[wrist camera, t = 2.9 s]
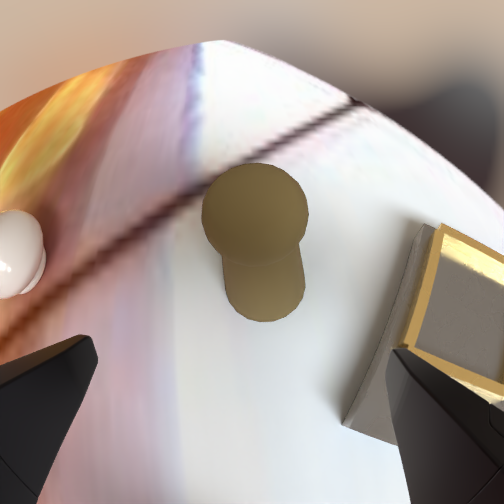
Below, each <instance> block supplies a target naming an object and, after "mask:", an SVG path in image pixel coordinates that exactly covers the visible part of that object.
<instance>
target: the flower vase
mask: <svg viewBox="0 0 504 504" xmlns="http://www.w3.org/2000/svg"><path fill="white" fill-rule="evenodd" d="M45 264H46V252H45V248H44V246H43V234H42V230H41V227H40V224H39V222H38V221H37V220H36V218H35V217H34V216H33V215H31V214H29V213H27V212H25V211H22V210H6V211H2V212H0V299H7V298H11V297H13V296H15V295H17V294H25V293H27V292H29V291H30V290H31V289H32V288H34V287H35V286H36V284H37V283H38V282H39V280H40V278H41V276H42V274H43V271H44V269H45Z"/></svg>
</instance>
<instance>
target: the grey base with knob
mask: <svg viewBox="0 0 504 504" xmlns="http://www.w3.org/2000/svg"><path fill="white" fill-rule="evenodd" d="M394 348H407V349H408V350H410V351H411V352H413V353H414V354H416V355H417V356H419V357H421V358H422V359H424V360H425V361H427V362H428V363H430V364H431V365H433V366H434V367H436V368H437V369H439V370H441V371H442V372H444V373H445V374H447V375H448V376H450V377H451V378H453V379H454V380H456V381H458V382H459V383H461V384H462V385H464V386H465V387H467V388H468V389H470V390H471V391H473V392H474V393H476V394H478V395H479V396H481V397H482V398H484V399H485V400H487V401H488V402H489V404H490V403H491V404H493V405H495V406H496V407H498V408H499V409H501V410H502V411H504V256H503V255H501V254H500V253H498V252H496V251H494V250H492V249H491V248H489V247H487V246H485V245H483V244H482V243H480V242H478V241H476V240H474V239H472V238H470V237H468V236H467V235H465V234H463V233H461V232H459V231H457V230H455V229H453V228H451V227H449V226H447V225H445V224H443V223H441V224H440V226H439V227H438V229H435V228H433V227H431V226H429V225H427V224H424V225H423V226H422V228H421V229H420V231H419V232H418V234H417V235H416V237H415V238H414V241H413V245H412V249H411V252H410V256H409V259H408V263H407V266H406V269H405V273H404V276H403V279H402V282H401V285H400V288H399V291H398V294H397V297H396V300H395V303H394V306H393V309H392V312H391V314H390V317H389V320H388V322H387V325H386V328H385V330H384V333H383V336H382V338H381V341H380V343H379V346H378V348H377V351H376V353H375V355H374V358H373V360H372V362H371V365H370V367H369V369H368V372H367V374H366V376H365V378H364V380H363V383H362V385H361V387H360V389H359V391H358V393H357V395H356V398H355V400H354V402H353V404H352V406H351V408H350V410H349V412H348V414H347V416H346V418H345V419H344V421H343V423H342V425H343V426H345V427H348V428H350V429H353V430H355V431H358V432H360V433H363V434H366V435H368V436H371V437H374V438H376V439H379V440H382V441H385V442H388V443H391V444H393V445H396V446H398V444H397V440H396V436H395V433H394V429H393V424H392V420H391V413H390V406H389V400H388V394H387V388H386V382H385V371H386V367H387V363H388V359H389V355H390V352H391V350H392V349H394Z"/></svg>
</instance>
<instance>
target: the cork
mask: <svg viewBox="0 0 504 504" xmlns="http://www.w3.org/2000/svg"><path fill="white" fill-rule="evenodd" d="M308 216H309V213H308V206H307V200H306V197H305V194H304V192H303V190H302V189H301V187H300V185H299V183H298V182H297V181H296V180H295V179H293V178H292V177H291V176H290V175H289V174H288V173H286V172H285V171H284V170H282V169H280V168H277V167H275V166H273V165H269V164H262V163H250V164H243V165H240V166H237V167H234V168H231V169H229V170H228V171H226V172H224V173H223V174H221V175H220V176H219V177H218V178H217V179H216V180H215V181H214V182H213V183H212V184H211V186H210V188H209V189H208V191H207V193H206V195H205V198H204V200H203V205H202V224H203V227H204V231H205V234H206V236H207V238H208V241H209V242H210V243H211V244H212V246H213V247H214V248H215V249H216V251H217V252H218V253H219V254H221V255H222V263H223V272H224V280H225V289H226V293H227V296H228V299H229V302H230V304H231V305H232V306H233V307H234V309H235V310H236V311H237V312H238V313H240V314H241V315H243V316H244V317H246V318H247V319H251V320H254V321H258V322H271V321H276V320H278V319H281V318H284V317H286V316H287V315H288V314H290V313H291V312H292V311H293V310H295V309H296V307H297V306H298V304H299V303H300V301H301V300H302V298H303V294H304V290H305V277H304V271H303V265H302V259H301V254H300V248H299V242H300V240H301V239H302V238H303V236H304V234H305V230H306V226H307V222H308Z"/></svg>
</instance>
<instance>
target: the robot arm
mask: <svg viewBox="0 0 504 504" xmlns="http://www.w3.org/2000/svg"><path fill="white" fill-rule="evenodd" d="M97 364H98V356H97V353H96V350H95V347H94V344H93V341H92V339H91V337H90V336H87V335H81V334H80V335H76V336H74V337H71V338H69V339H66V340H64V341H61V342H59V343H56V344H54V345H51V346H49V347H46V348H43V349H41V350H38V351H36V352H33V353H31V354H28V355H26V356H23V357H21V358H18V359H15V360H13V361H10V362H8V363H5V364H3V365H0V504H36V503H37V501H38V497H39V495H40V493H41V490H42V488H43V485H44V483H45V481H46V478H47V476H48V474H49V471H50V469H51V467H52V465H53V462H54V460H55V458H56V456H57V453H58V451H59V449H60V447H61V445H62V443H63V440H64V438H65V436H66V434H67V432H68V430H69V428H70V426H71V424H72V422H73V420H74V418H75V416H76V414H77V412H78V410H79V408H80V406H81V403H82V401H83V399H84V397H85V394H86V392H87V389H88V386H89V384H90V381H91V379H92V376H93V374H94V371H95V369H96V366H97ZM385 382H386V388H387V394H388V400H389V406H390V413H391V420H392V424H393V429H394V433H395V436H396V440H397V444H398V448H399V452H400V456H401V460H402V464H403V469H404V473H405V478H406V482H407V487H408V491H409V496H410V501H411V504H504V411H502V410H501V409H499V408H498V407H496V406H495V405H493V404H491V403H490V404H489V402H488V401H487V400H485V399H484V398H482V397H481V396H479V395H478V394H476V393H474V392H473V391H471V390H470V389H468V388H467V387H465V386H464V385H462V384H461V383H459V382H458V381H456V380H454V379H453V378H451V377H450V376H448V375H447V374H445V373H444V372H442V371H441V370H439V369H437V368H436V367H434V366H433V365H431V364H430V363H428V362H427V361H425V360H424V359H422V358H421V357H419V356H417V355H416V354H414V353H413V352H411V351H410V350H408V349H407V348H394V349H392V350H391V352H390V355H389V359H388V363H387V367H386V371H385Z"/></svg>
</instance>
